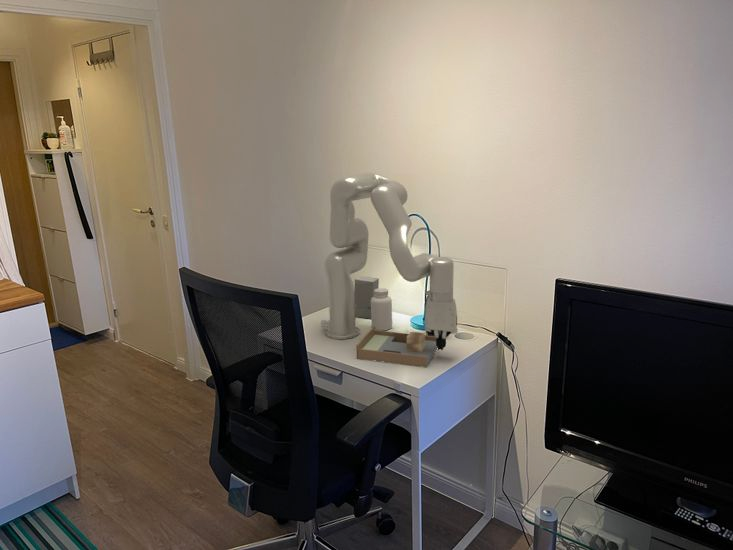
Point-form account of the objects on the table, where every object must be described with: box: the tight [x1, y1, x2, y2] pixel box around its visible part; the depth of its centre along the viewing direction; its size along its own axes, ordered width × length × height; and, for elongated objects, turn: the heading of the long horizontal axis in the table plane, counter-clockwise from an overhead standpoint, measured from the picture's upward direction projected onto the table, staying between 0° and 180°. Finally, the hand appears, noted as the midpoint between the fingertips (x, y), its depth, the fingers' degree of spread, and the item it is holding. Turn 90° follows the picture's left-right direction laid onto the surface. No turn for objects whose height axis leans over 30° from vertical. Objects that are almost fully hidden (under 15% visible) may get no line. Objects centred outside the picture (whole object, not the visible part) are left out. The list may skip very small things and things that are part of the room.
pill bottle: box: [370, 287, 393, 331], centre depth 214 cm, size 8×8×15 cm
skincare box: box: [354, 275, 380, 320], centre depth 227 cm, size 8×7×16 cm
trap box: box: [355, 326, 438, 368], centre depth 192 cm, size 24×18×5 cm
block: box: [407, 331, 426, 352], centre depth 189 cm, size 5×5×5 cm
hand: (441, 348), depth 187 cm, fingers closed
